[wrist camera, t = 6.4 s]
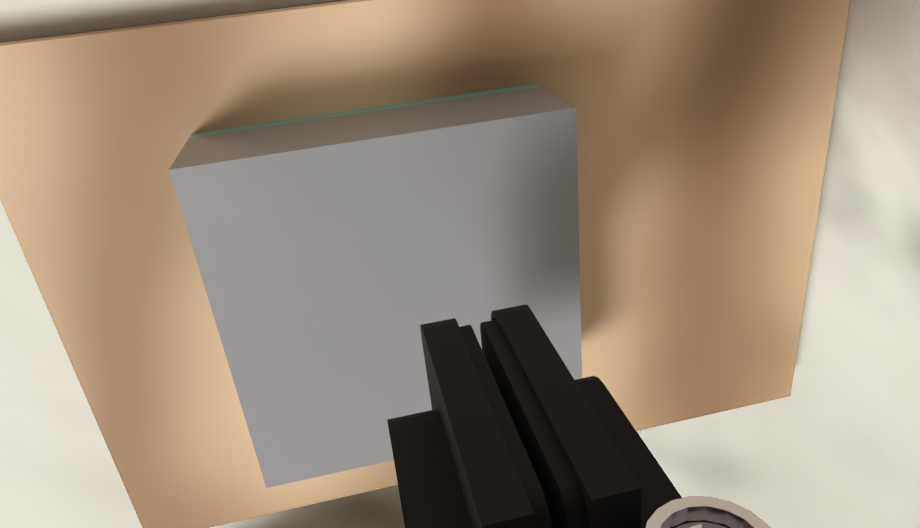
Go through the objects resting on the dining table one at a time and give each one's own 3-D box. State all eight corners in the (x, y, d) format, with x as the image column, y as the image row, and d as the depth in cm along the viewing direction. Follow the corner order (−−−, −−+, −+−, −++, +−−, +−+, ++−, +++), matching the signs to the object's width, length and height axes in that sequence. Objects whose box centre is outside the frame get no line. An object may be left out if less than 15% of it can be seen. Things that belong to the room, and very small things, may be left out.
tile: (576, 107, 12) (167, 169, 11) (582, 418, 15) (266, 488, 14) (535, 83, 14) (191, 134, 13) (548, 359, 17) (272, 417, 16)
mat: (832, -60, 15) (859, -60, 14) (773, 380, 20) (790, 396, 19) (-42, 47, 12) (-64, 53, 12) (155, 517, 18) (148, 541, 17)
